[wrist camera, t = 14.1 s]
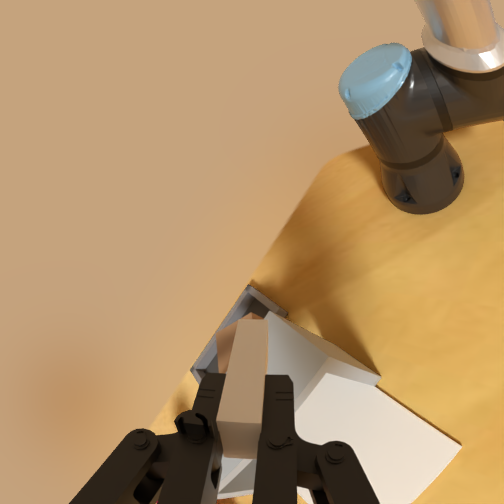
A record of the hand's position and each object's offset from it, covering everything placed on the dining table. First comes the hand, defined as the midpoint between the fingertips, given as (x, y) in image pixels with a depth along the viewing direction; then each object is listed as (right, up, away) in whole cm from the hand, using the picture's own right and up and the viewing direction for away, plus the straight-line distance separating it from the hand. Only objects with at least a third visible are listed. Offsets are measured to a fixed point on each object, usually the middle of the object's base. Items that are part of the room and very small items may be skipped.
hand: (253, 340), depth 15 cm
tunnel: (+12, -22, +15) cm, 29 cm away
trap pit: (-3, -13, +38) cm, 40 cm away
